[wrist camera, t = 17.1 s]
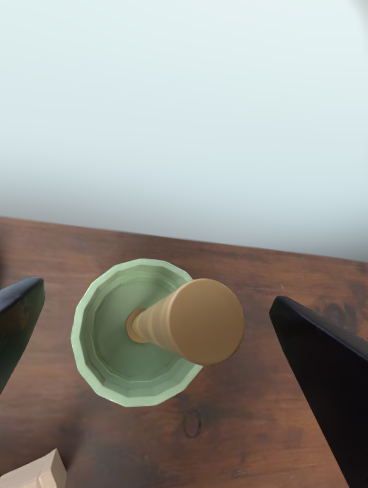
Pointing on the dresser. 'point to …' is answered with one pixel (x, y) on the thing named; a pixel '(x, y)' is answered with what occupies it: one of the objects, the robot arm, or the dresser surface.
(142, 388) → the bowl
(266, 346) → the dresser surface
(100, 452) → the dresser surface
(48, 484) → the toy figure
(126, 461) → the dresser surface
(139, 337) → the stirring stick
